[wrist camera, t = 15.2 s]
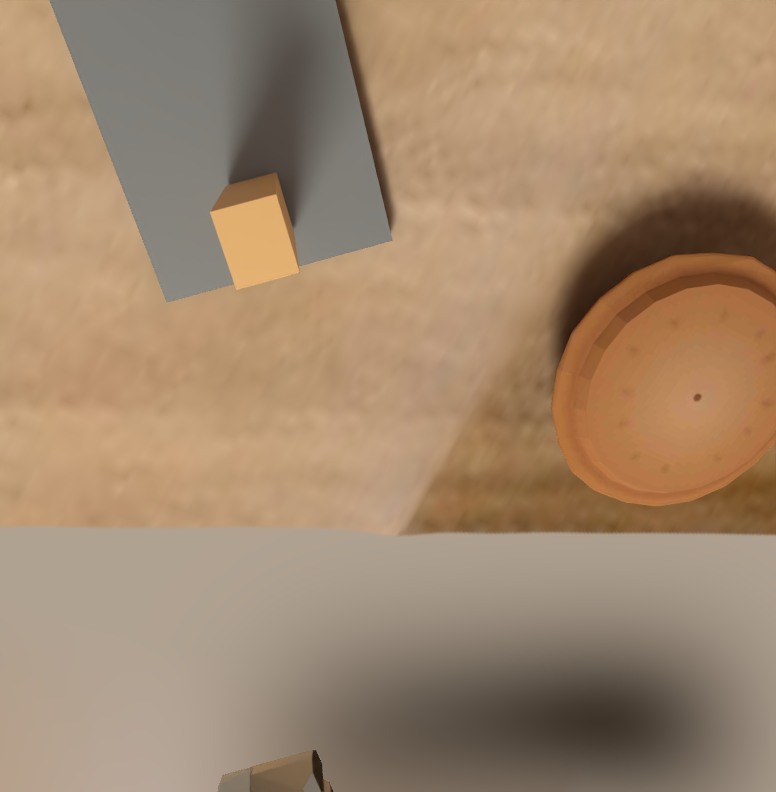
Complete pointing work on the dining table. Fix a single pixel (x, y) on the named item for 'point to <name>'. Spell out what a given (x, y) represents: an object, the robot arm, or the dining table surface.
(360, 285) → the dining table surface
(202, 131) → the grey base plate
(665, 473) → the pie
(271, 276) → the tan wooden beam
